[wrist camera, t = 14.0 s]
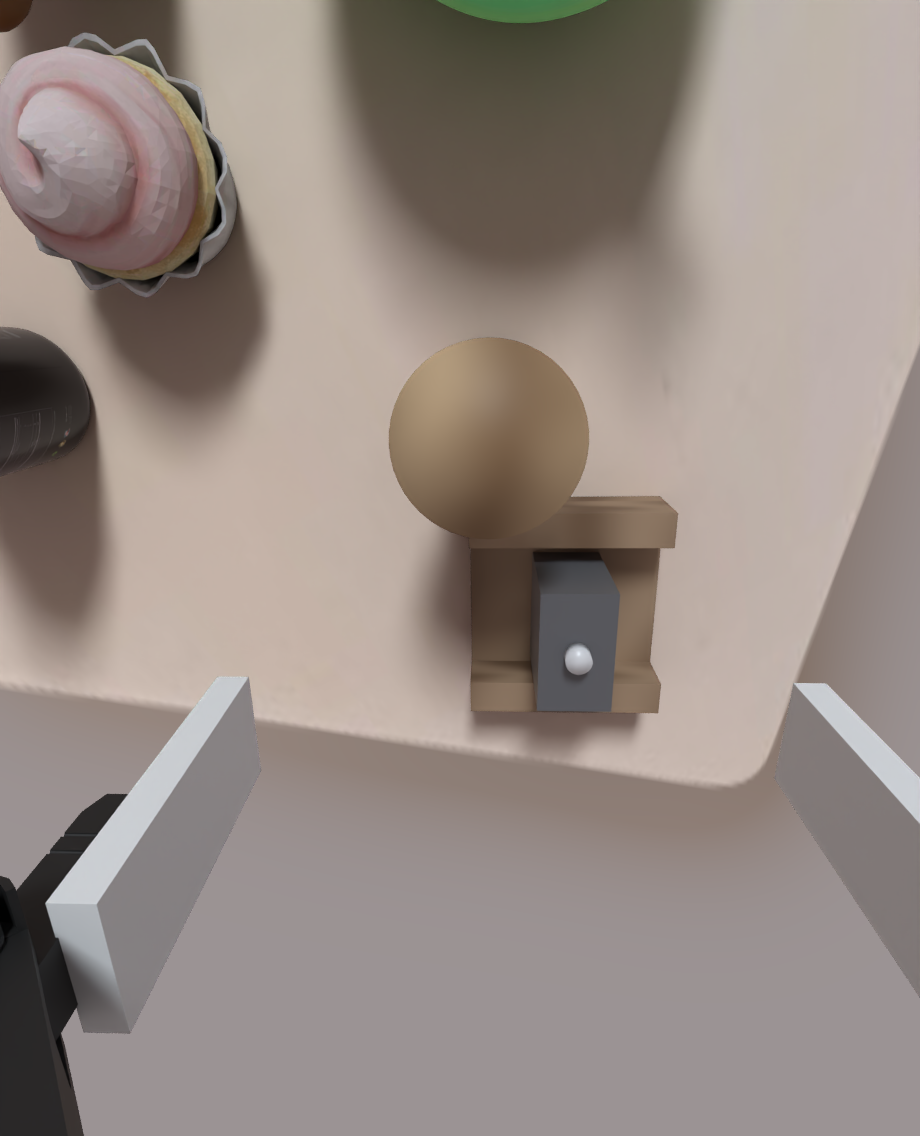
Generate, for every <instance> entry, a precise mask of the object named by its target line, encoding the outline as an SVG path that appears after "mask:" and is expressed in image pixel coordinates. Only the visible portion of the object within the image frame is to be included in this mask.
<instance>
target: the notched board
mask: <svg viewBox="0 0 920 1136" xmlns="http://www.w3.org/2000/svg"><path fill="white" fill-rule="evenodd" d="M677 519H678V513H677V512H676V511H675V510H674V509H673V508H672V507H671V506H670V505H669V504H668V503H667V502H665V501H664V500H663V499H662V498H661V497H660V496H642V497H569V499H568V500H567V502H566V503H565V504H564V505H563V506H562V507H561V508H560V509H559V510H558V511H557V512H556V513H555V514H554V515H553V516H552V517H550V518H549V519H548V520H547V521H545V522H543V523H542V524H540V525H539V526H537V527H535V528H533V529H531V530H529V531H527V532H525V533H521V534H518V535H515V536H512V537H506V538H501V539H475V538H470V537H469V548H471V620H472V668H471V711H510V712H580V711H537V707H536V699H535V691H534V683H533V674H532V666H531V658H530V630H531V593H532V556H533V552H599V553H600V555H601V557H602V559H603V561H604V563H605V565H606V567H607V569H608V571H609V573H610V575H611V577H612V579H613V581H614V583H615V585H616V587H617V589H618V591H619V593H620V603H619V616H618V629H617V643H616V656H615V669H614V682H613V695H612V708H611V712H600V713H658V709H659V699H660V689H661V683H660V681H659V679H658V677H657V675H656V673H655V671H654V669H653V667H652V665H651V663H650V655H651V644H652V634H653V623H654V612H655V601H656V590H657V579H658V568H659V558H660V548H675V539H676V529H677Z"/></svg>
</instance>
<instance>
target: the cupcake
mask: <svg viewBox="0 0 920 1136" xmlns="http://www.w3.org/2000/svg"><path fill="white" fill-rule="evenodd" d="M0 187H1V189H2V191H3V193H4V194H5V196H6V198H7V200H8V202H9V204H10V206H11V208H12V210H13V211H14V213H15V214H16V215H17V216H18V217H19V219H20V220H21V221H22V222H23V224H24V225H25V226H26V227H27V228H28V230H29V231H30V232H32V233H33V234H34V235H35V240H36V243H37V246H38V248H39V250H40V251H42V252H44V253H46V254H47V255H52V256H56V257H60V258H64V259H68V260H71V262H72V264H73V265H74V267H75V269H76V270H77V272H78V274H79V275H80V277H81V279H82V281H83V282H84V284H85V285H86V286H87V287H88V288H89V289H90V290H100V289H103V288H105V287H108V286H111V285H113V284H116V283H121V284H122V285H124V286H125V287H127V288H128V289H129V290H131V291H132V292H134V293H135V294H136V295H140V296H143V297H146V298H148V297H150V296H151V295H153V294H154V293H156V292H157V291H158V290H159V289H160V288H161V286H162V285H163V284H164V283H165V282H166V281H167V279H168V278H170V277H178V278H191V277H194V276H197V275H198V273H199V271H200V268H201V266H203V265H204V264H206V263H207V262H209V261H210V260H211V259H213V258H214V257H215V256H216V255H217V254H218V253H219V252H220V251H221V250H222V248H223V247H224V246H225V245H226V244H227V241H228V239H229V237H230V234H231V232H232V229H233V226H234V221H235V216H236V210H237V201H236V191H235V185H234V181H233V177H232V174H231V171H230V167H229V165H228V163H227V156H226V153H225V151H224V148H223V146H222V143H221V142H220V141H219V140H218V139H217V138H216V137H215V136H214V135H213V134H212V133H211V131H210V127H209V122H208V117H207V112H206V106H205V102H204V99H203V95H202V91H201V88H199V87H198V86H196V85H194V84H193V83H191V82H190V81H187V80H183V79H179V78H175V77H171V76H168V74H167V72H166V70H165V69H164V67H163V65H162V63H161V61H160V59H159V57H158V55H157V53H156V51H155V49H154V47H153V46H152V45H151V44H150V43H149V41H148V40H147V39H137V40H135V41H132V42H130V43H128V44H125V45H123V46H121V47H118V48H116V49H114V48H112V47H111V46H110V45H108V44H107V43H106V42H104V41H103V40H102V39H100V38H99V37H98V36H96V35H95V34H90V33H84V32H83V33H81V34H80V35H78V36H76V37H74V38H72V40H71V41H70V43H69V45H68V47H67V46H64V47H60V48H56V49H51V50H47V51H43V52H39V53H35V54H31V55H28V56H26V57H23V58H21V59H19V60H18V61H16V62H15V63H14V64H13V65H12V66H11V68H10V69H9V71H8V73H7V74H6V76H5V78H4V79H3V81H2V82H1V84H0Z"/></svg>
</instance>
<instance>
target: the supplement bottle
mask: <svg viewBox="0 0 920 1136" xmlns="http://www.w3.org/2000/svg"><path fill="white" fill-rule="evenodd" d="M89 418H90V400H89V395H88V391H87V388H86V385H85V382H84V380H83V378H82V376H81V374H80V372H79V370H78V369H77V367H76V366H75V364H74V363H73V361H72V360H71V359H70V358H69V357H68V356H67V355H66V354H65V353H64V352H63V351H62V350H61V349H60V348H59V347H58V346H57V345H55V344H54V343H52V342H51V341H50V340H48V339H46V338H45V337H43V336H41V335H39V334H36V333H34V332H31V331H28V330H25V329H20V328H13V327H0V476H4V475H7V474H10V473H13V472H17V471H20V470H23V469H27V468H30V467H33V466H37V465H40V464H43V463H46V462H49V461H52V460H55V459H58V458H60V457H62V456H64V455H66V454H67V453H69V452H70V451H72V450H73V449H74V448H75V447H76V446H77V445H78V444H79V442H80V441H81V440H82V438H83V436H84V435H85V432H86V430H87V427H88V423H89Z"/></svg>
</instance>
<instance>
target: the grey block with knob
mask: <svg viewBox="0 0 920 1136" xmlns="http://www.w3.org/2000/svg"><path fill="white" fill-rule="evenodd" d="M619 603H620V593H619V591H618V589H617V587H616V585H615V583H614V581H613V579H612V577H611V575H610V573H609V571H608V569H607V567H606V565H605V563H604V561H603V559H602V557H601V555H600V553H599V552H533V556H532V593H531V630H530V658H531V666H532V674H533V683H534V691H535V699H536V707H537V711H580V712H611V708H612V695H613V682H614V669H615V656H616V643H617V629H618V616H619Z"/></svg>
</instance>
